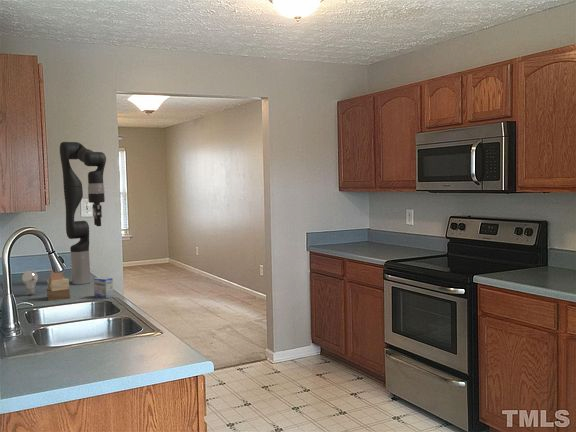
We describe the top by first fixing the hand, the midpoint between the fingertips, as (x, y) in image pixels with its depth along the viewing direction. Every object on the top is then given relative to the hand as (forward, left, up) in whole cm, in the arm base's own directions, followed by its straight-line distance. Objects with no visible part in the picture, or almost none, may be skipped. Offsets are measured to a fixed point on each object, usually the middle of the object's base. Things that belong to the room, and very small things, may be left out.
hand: (97, 225), depth 272 cm
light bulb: (-6, -31, -32) cm, 45 cm away
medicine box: (+19, -1, -32) cm, 38 cm away
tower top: (+10, -20, -28) cm, 36 cm away
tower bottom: (+10, -20, -32) cm, 39 cm away
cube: (+10, -20, -23) cm, 32 cm away
